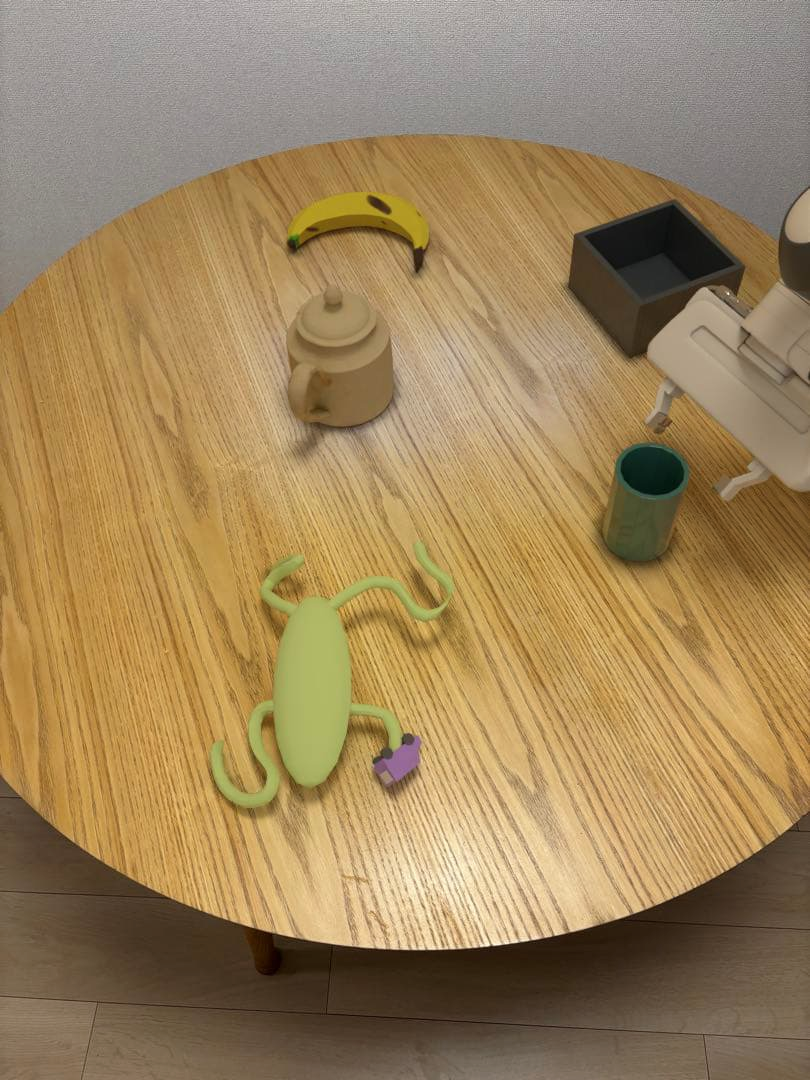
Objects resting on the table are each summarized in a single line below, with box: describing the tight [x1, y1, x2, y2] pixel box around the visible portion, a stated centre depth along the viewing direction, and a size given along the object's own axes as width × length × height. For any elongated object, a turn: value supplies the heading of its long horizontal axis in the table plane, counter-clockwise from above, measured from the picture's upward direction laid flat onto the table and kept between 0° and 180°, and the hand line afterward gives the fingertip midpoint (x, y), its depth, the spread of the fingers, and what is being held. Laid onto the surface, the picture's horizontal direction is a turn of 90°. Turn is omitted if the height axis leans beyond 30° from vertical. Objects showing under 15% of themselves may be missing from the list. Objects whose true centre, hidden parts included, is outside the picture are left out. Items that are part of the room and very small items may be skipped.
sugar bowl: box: [285, 283, 395, 428], centre depth 104 cm, size 15×11×15 cm
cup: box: [601, 442, 691, 563], centre depth 94 cm, size 7×7×10 cm
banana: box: [286, 190, 430, 273], centre depth 124 cm, size 5×17×15 cm
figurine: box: [209, 541, 455, 809], centre depth 88 cm, size 18×27×6 cm
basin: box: [567, 198, 747, 358], centre depth 114 cm, size 14×14×8 cm
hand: (684, 461), depth 92 cm, fingers open, 8 cm apart
